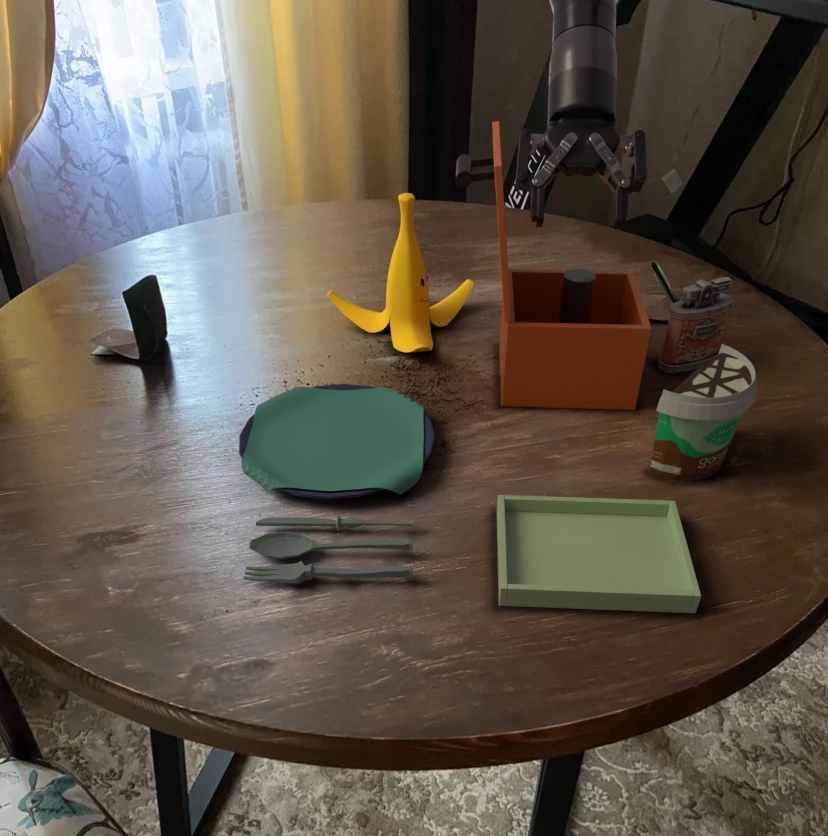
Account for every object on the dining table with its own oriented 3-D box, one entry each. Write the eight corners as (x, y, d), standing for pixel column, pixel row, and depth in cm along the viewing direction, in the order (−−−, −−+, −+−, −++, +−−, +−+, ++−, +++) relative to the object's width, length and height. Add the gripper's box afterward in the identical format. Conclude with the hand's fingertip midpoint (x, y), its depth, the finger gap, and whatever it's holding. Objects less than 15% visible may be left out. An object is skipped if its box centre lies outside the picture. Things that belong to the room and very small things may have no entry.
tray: (670, 517, 78) (675, 500, 77) (695, 613, 69) (701, 595, 68) (496, 511, 79) (497, 494, 77) (498, 606, 70) (500, 588, 68)
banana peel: (474, 303, 111) (480, 172, 100) (426, 374, 97) (427, 232, 86) (359, 285, 115) (352, 157, 104) (298, 350, 102) (283, 212, 91)
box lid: (499, 120, 86) (455, 126, 86) (501, 165, 75) (452, 171, 76) (507, 264, 96) (468, 268, 96) (511, 321, 85) (467, 325, 86)
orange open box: (619, 348, 102) (633, 271, 95) (635, 410, 92) (651, 328, 85) (499, 345, 102) (504, 268, 96) (501, 406, 92) (507, 325, 86)
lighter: (669, 375, 97) (687, 294, 90) (651, 362, 99) (668, 282, 93) (724, 361, 99) (746, 281, 93) (706, 348, 102) (726, 269, 95)
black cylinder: (581, 358, 98) (594, 268, 91) (584, 373, 96) (597, 282, 89) (552, 357, 99) (562, 268, 91) (554, 372, 96) (565, 281, 89)
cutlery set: (434, 398, 94) (434, 380, 92) (435, 590, 71) (436, 570, 70) (257, 397, 94) (254, 380, 92) (202, 588, 71) (197, 568, 70)
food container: (697, 505, 79) (723, 417, 73) (640, 479, 82) (660, 391, 76) (756, 449, 86) (784, 363, 79) (701, 426, 89) (724, 341, 83)
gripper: (521, 63, 91) (516, 209, 90) (654, 64, 90) (651, 211, 89) (516, 103, 98) (511, 238, 97) (639, 104, 97) (635, 240, 96)
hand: (578, 225), depth 93 cm, fingers open, 8 cm apart
